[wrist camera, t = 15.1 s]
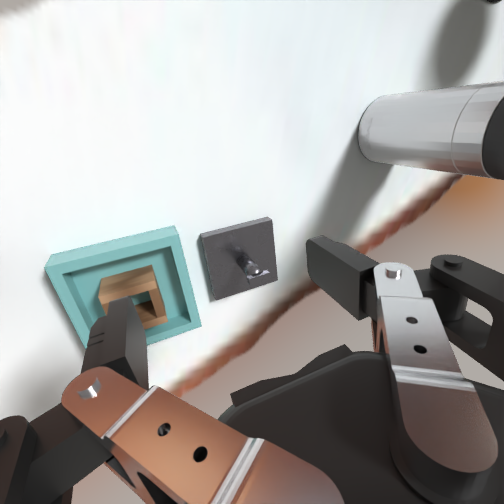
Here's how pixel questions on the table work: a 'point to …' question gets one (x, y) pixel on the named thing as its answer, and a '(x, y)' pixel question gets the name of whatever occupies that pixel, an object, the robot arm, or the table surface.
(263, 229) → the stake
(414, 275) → the robot arm
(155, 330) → the tray
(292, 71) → the table surface
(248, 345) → the table surface
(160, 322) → the walnut collar
